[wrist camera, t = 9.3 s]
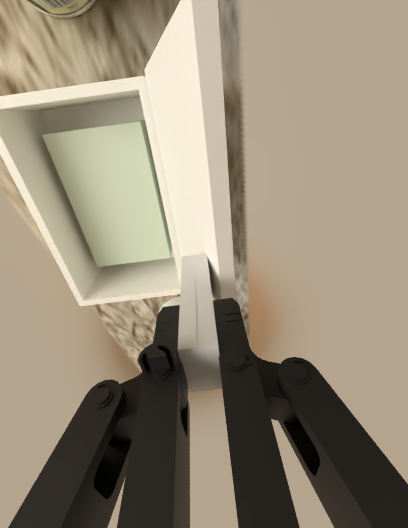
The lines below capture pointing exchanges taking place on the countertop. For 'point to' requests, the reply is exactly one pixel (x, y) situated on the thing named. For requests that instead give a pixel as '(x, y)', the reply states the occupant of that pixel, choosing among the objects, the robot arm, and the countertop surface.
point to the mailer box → (95, 186)
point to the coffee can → (61, 7)
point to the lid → (195, 136)
